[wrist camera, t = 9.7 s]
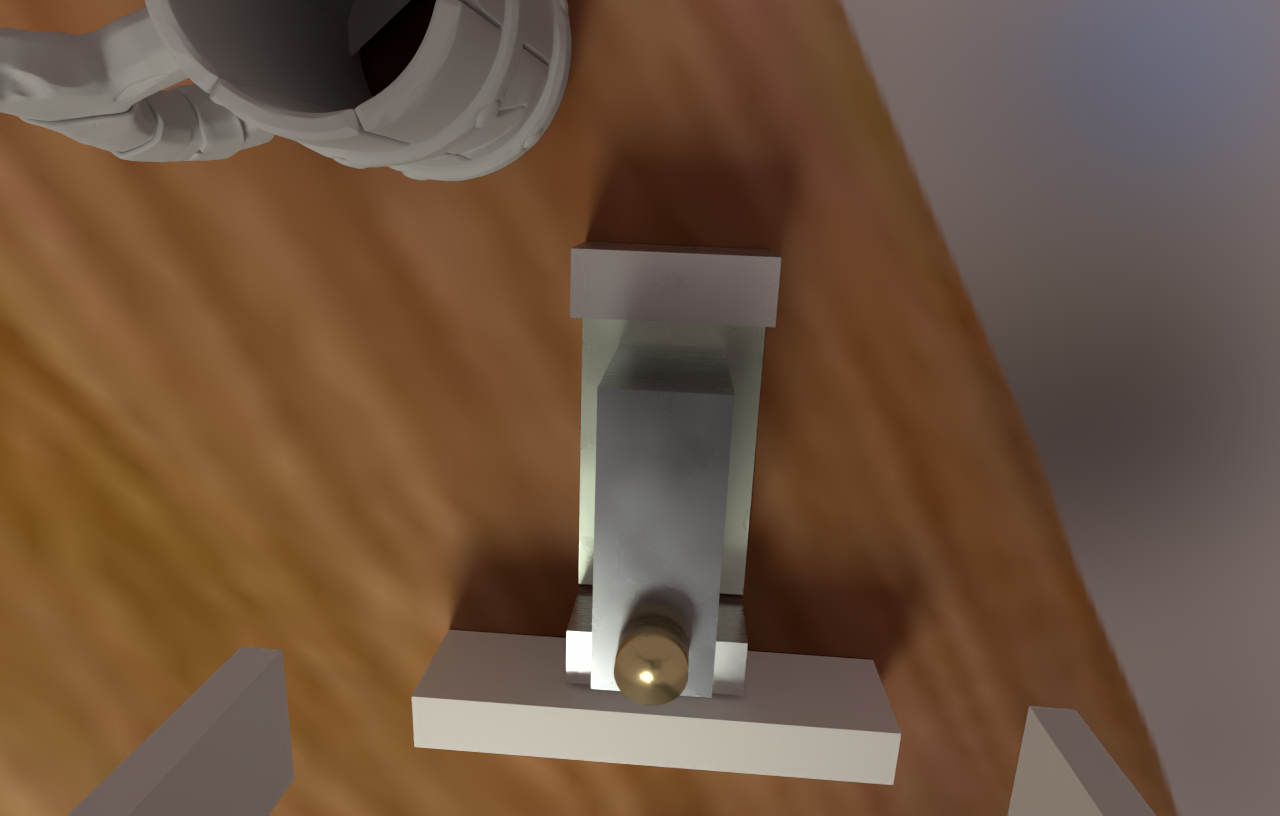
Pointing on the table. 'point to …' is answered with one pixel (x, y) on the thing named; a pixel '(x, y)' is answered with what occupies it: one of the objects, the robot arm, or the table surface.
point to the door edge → (659, 713)
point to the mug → (299, 82)
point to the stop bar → (659, 520)
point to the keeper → (678, 316)
